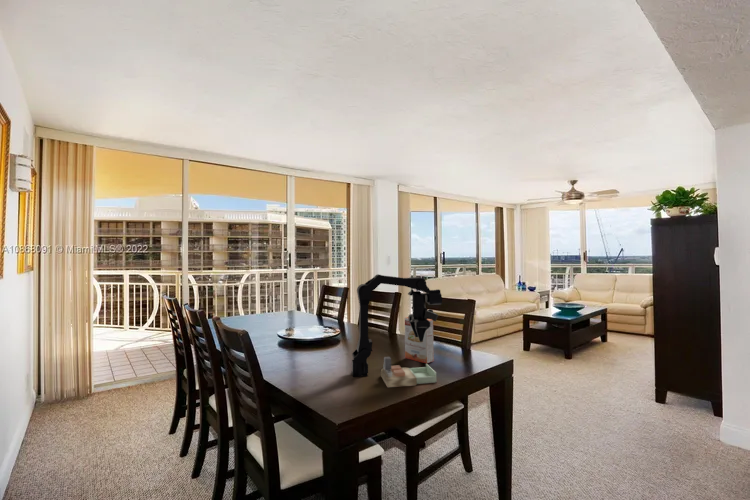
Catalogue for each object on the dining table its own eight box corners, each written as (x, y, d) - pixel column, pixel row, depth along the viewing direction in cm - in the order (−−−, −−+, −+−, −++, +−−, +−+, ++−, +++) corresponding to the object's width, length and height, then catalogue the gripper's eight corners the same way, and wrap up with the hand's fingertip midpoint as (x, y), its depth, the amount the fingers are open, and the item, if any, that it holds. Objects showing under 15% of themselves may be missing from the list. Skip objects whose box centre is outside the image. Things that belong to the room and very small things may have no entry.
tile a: (395, 376, 154) (395, 373, 154) (393, 373, 157) (393, 370, 157) (404, 376, 154) (404, 372, 154) (402, 373, 158) (402, 369, 158)
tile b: (392, 372, 159) (392, 368, 159) (390, 369, 163) (390, 365, 163) (401, 371, 160) (401, 368, 160) (399, 368, 164) (399, 365, 164)
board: (387, 387, 150) (387, 379, 150) (381, 376, 164) (381, 369, 164) (416, 385, 152) (416, 377, 152) (407, 374, 166) (407, 367, 166)
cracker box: (404, 358, 190) (403, 317, 190) (412, 356, 194) (411, 315, 194) (426, 364, 180) (426, 320, 180) (434, 361, 184) (433, 319, 184)
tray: (416, 383, 153) (416, 374, 153) (408, 373, 166) (408, 364, 166) (436, 382, 155) (436, 372, 155) (427, 372, 168) (426, 363, 168)
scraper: (387, 377, 152) (387, 361, 152) (382, 369, 163) (382, 354, 163) (393, 377, 153) (393, 361, 153) (387, 369, 164) (387, 354, 164)
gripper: (441, 307, 162) (442, 343, 162) (430, 302, 181) (431, 334, 180) (416, 308, 161) (416, 344, 161) (408, 302, 179) (408, 335, 179)
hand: (418, 339), depth 170 cm, fingers open, 9 cm apart
